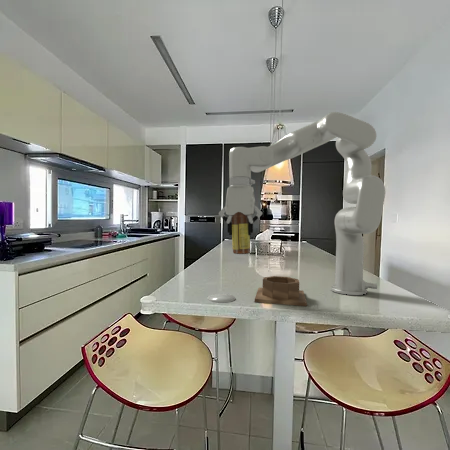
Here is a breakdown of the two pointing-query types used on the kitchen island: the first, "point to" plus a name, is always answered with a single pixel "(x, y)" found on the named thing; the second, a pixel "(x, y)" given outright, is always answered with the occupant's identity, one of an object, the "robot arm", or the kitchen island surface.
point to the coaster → (221, 298)
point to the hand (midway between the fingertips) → (240, 234)
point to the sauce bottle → (240, 234)
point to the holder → (281, 291)
